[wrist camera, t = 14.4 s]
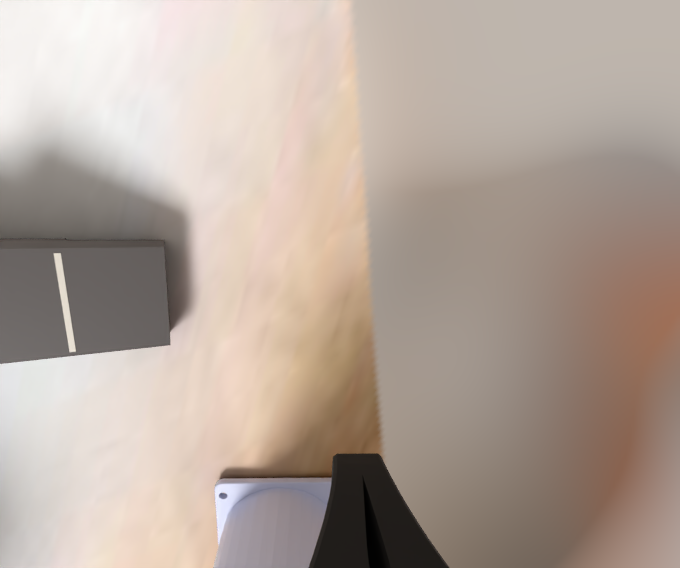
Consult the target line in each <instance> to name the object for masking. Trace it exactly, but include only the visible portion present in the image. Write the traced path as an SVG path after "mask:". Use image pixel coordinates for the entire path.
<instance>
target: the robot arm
mask: <svg viewBox="0 0 680 568" xmlns="http://www.w3.org/2000/svg"><path fill="white" fill-rule="evenodd" d="M224 493H225V494H224ZM215 503H216V517H217V531H218V545H219V546H218V550H217V554H216V558H215V562H214V566H213V568H449V567H448V565H447V564H446V563H445V561H444V560H443V558H442V557H441V556H440V554H439V553H438V551H437V550H436V549H435V547H434V546H433V544H432V543H431V542H430V540H429V539H428V537H427V536H426V534H425V533H424V531H423V530H422V528H421V527H420V525H419V524H418V522H417V520H416V519H415V517H414V516H413V514H412V512H411V511H410V509H409V507H408V506H407V504H406V503H405V501H404V499H403V497H402V496H401V494H400V492H399V490H398V489H397V487H396V485H395V483H394V482H393V479H392V478H391V476H390V474H389V472H388V470H387V468H386V466H385V464H384V462H383V460H382V457H381V456H380V455H379V454H336V455H335V456H334V457H333V464H332V478H224V479H220V480H218V481H217V482H216V485H215Z"/></svg>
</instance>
